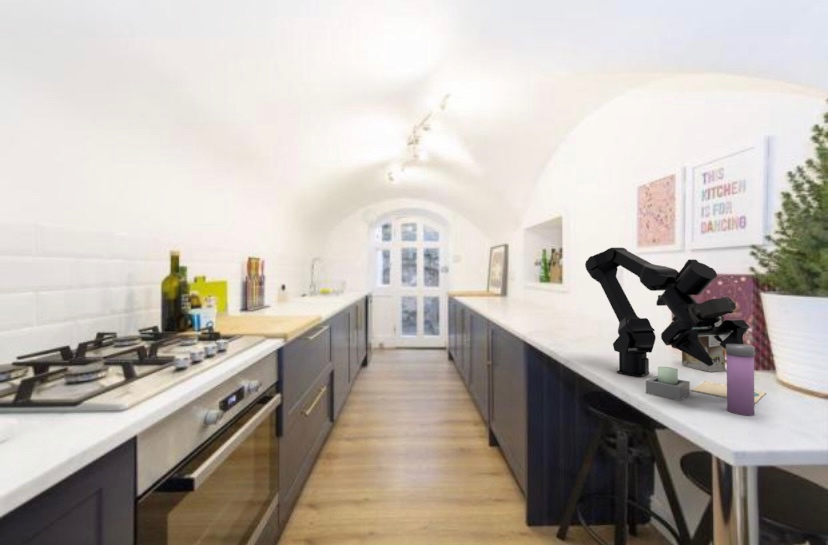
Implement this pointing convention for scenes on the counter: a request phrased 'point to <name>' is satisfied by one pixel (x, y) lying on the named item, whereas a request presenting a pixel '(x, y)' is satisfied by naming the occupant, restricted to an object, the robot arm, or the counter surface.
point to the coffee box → (713, 351)
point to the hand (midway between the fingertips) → (730, 363)
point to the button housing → (668, 388)
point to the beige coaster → (721, 390)
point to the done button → (668, 375)
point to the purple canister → (740, 379)
